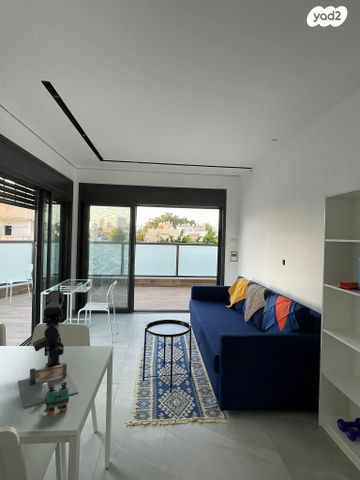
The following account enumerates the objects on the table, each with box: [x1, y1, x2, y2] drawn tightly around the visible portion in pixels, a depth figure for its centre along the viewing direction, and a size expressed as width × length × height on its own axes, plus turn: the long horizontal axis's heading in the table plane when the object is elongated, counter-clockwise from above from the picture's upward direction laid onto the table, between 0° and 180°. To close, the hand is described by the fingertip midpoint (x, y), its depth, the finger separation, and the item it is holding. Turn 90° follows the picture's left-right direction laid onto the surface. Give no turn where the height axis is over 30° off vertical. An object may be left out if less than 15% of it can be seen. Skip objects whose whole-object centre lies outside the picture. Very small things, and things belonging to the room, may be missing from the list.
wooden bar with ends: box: [29, 362, 68, 385], centre depth 135 cm, size 16×2×6 cm, turn 124°
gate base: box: [18, 372, 79, 409], centre depth 131 cm, size 24×21×7 cm
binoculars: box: [45, 382, 70, 415], centre depth 116 cm, size 9×11×10 cm
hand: (52, 363), depth 141 cm, fingers closed
